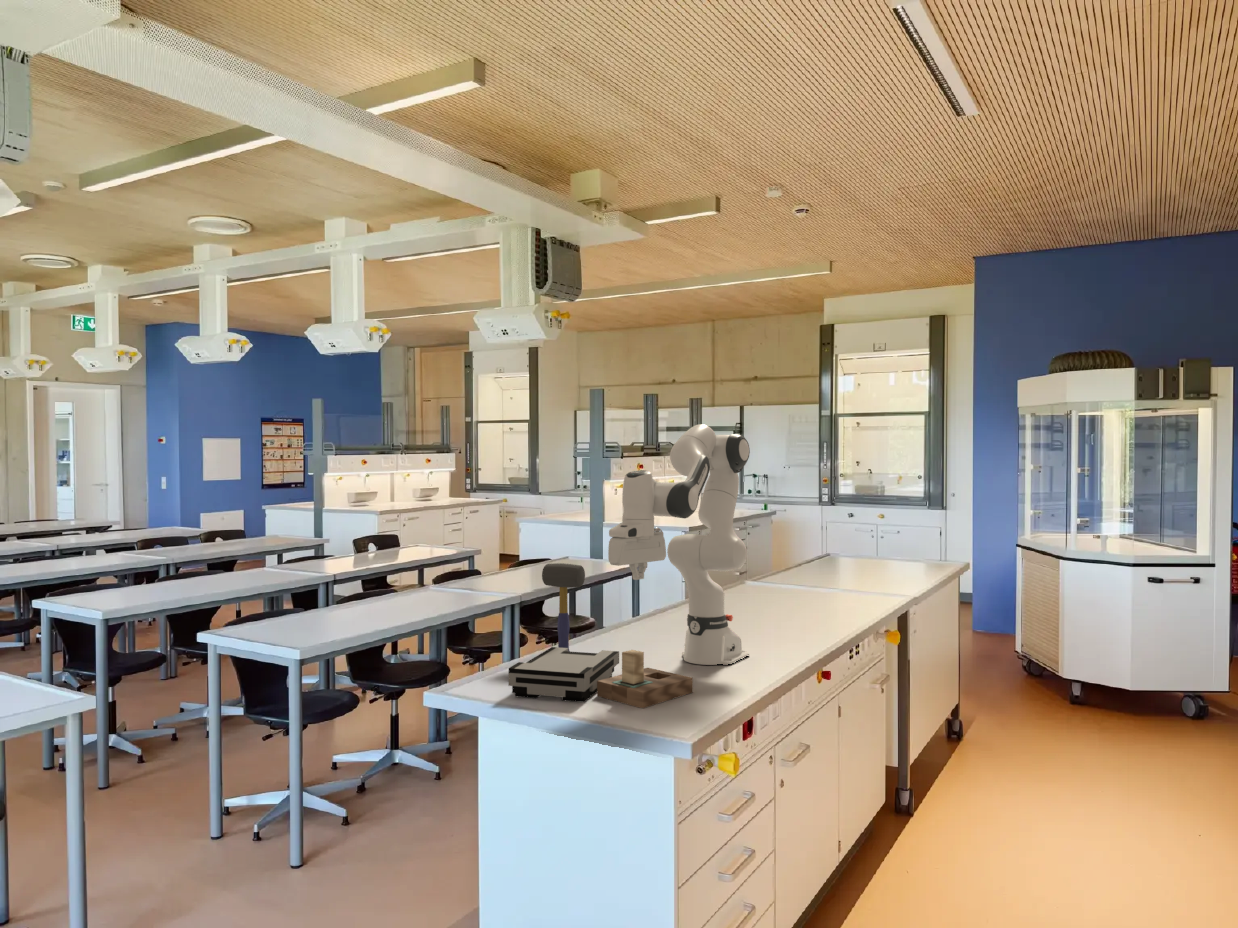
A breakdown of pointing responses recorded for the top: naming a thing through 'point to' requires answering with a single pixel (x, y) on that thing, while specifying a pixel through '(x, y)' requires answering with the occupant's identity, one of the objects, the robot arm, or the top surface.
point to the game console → (562, 674)
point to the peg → (632, 667)
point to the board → (646, 688)
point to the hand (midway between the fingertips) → (638, 579)
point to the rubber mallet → (563, 592)
